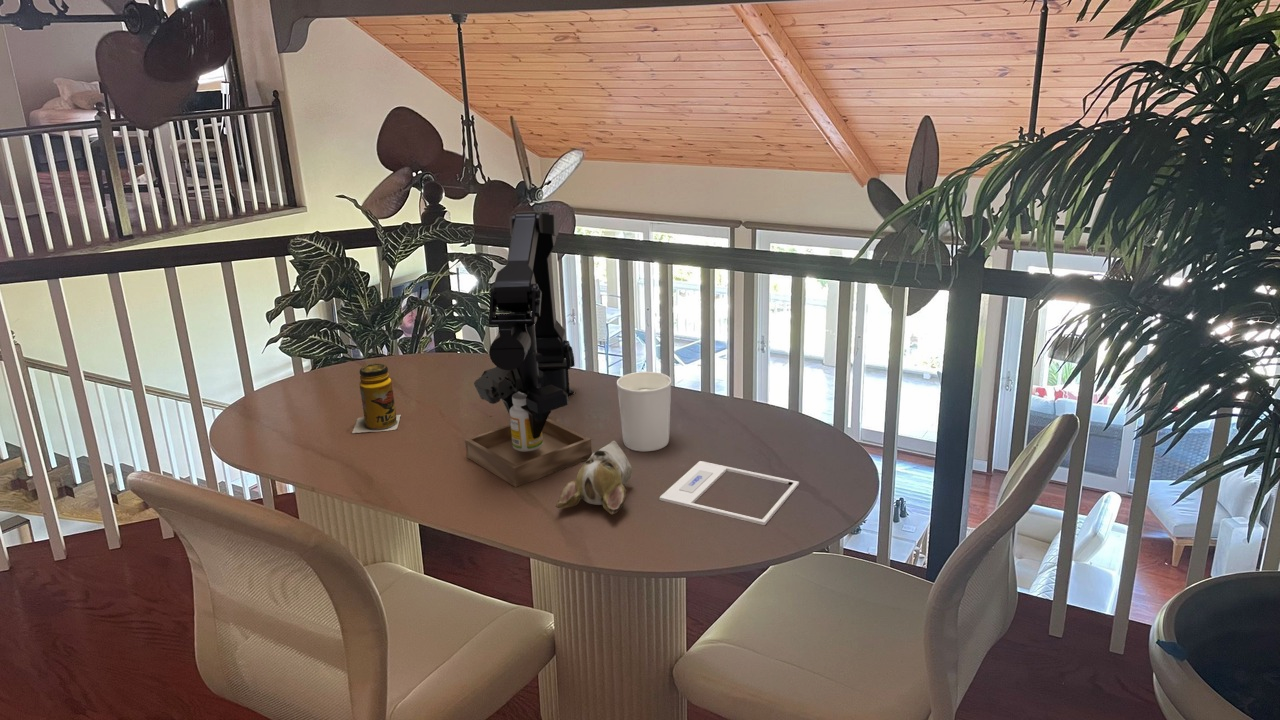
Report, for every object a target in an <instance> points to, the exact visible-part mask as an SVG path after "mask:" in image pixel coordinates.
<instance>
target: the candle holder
mask: <svg viewBox="0 0 1280 720" xmlns="http://www.w3.org/2000/svg"><path fill="white" fill-rule="evenodd" d="M672 383H673V382H672V378H671V377H670V376H669V375H666V373H662V372H657V371H637V372H632V373H631V372H630V373H627V374H624V375H622V376H620V377H619V378H618V379H617V380H616V387H617V395H618V404H619V405H618V406H619V414H620V422H621V423H620V424H621V430H622V431H621V433H622V441H623V444H624V446H625V447H626V448H628V449H629V450H632V451H636V452H654V451H658V450H661V449H663V448H665V447H666V446H667V445H668V444H669V442H670V427H671V424H670V423H671V397H672V396H671V395H672Z"/></svg>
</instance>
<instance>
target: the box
mask: <svg viewBox="0 0 1280 720" xmlns="http://www.w3.org/2000/svg"><path fill="white" fill-rule="evenodd" d="M542 437H543V445H542V446H541V447H540V448H539V449H537V450H533V451H528V452H522V451H517V450H515V449H514V448H513V444H512V435H511V424H509V423H508V424H507V425H503V426H501V427H498V428H495V429H492V430H490V431H486V432H483V433H479V434H476V435H475V436H470V437H468V438H465V439H464V443H465V452H466V458H467V459H469V460H470V461H472V462H474V463H476V464H477V465H479V466H480V467H482V468H483V469H484V470H487V471H489V472H490V473H492V474H494V475H495V476H497V477H499V478H500V479H502V480H503V481H505V482H507V483H508V484H510V485H512V486H514V487H515V488H517V487H518V488H519V487H520V486H523V485H525V484H528V483H531V482H532V481H536V480H539V479H540V478H544V477H546V476H548V475H551V474H553V473H556V472H558V471H560V470H563V469H566V468H568V467H571V466H574V465H575V464H579V463H582V462H584V461H587V460H588V459H589V458H590V456H591V455H592V454H593V451H592V450H593V449H592V439H591V438H589V437H587V436H585V435H582V434H581V433H579V432H576V431H575V430H573V429H571V428H569V427H566V426H564V425H562V424H560V423H558V422H556V421H554V420H552V419H551V418H549V417H548V418H547V420H546V423H545V425H544V427H543V430H542Z"/></svg>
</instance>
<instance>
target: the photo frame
mask: <svg viewBox="0 0 1280 720" xmlns="http://www.w3.org/2000/svg"><path fill="white" fill-rule="evenodd" d="M726 472H729V473H734V474H738V475H743V476H749V477H754V478H758V479H761V480H762V479H763V480H767V481H772V482H775V483H776V482H777V483H782V484H786V485H789V483H790V484H791V485H790V486H789V487H788V489H786V491H785V492H784V493H783V494H782V495H781V497H780V498H779V499H778V501H777V502H776V503H775V504H774V505H773V506H772V507H771V509H770V510H769V511H768V512H767V513H766V514H765V516H764V517H762V519H761V518H757V517H753V516H748V515H746V514H745V515H744V514H740V513H736V512H731V511H730V510H729V511H727V510H724V509H718V508H716V507H711V506H707V505H703V504H698V503H695V502H696V501H697V500H699V499H700V498H701V497H702V495H704V494H705V492H706V491H708V490H709V489H710V487H712V486H713V485H714V484H715V483H716V482H717V481H718V480H719V479H720V478H721V477H722V476H723V475H724V474H725V473H726ZM799 485H800V481H797V480H791V479H787V478H783V477H778V476H773V475H770V474H765V473H760V472H755V471H754V472H753V471H749V470H745V469H739V468H736V467H731V466H726V465H721V464H717V463H711V462H708V461H703V460H702V461H701V460H699V461H698V462H697V463H696V464H695V465H693V466H692V467H691V468H690V469H689V470H688V471H687V472H686V473H685V474H684V475H683V476H681V477H680V478H679V479H678V480H677V481H675V482H674V483H673V484H672V485H671V486H670V487H669V488H668V489H667V490H666V491H665V492H663V493H662V494H661V495H660V496H659V501H662V502H665V503H666V502H667V503H670V504H674V505H679V506H682V507H687V508H691V509H695V510H699V511H704V512H707V513H712V514H716V515H720V516H724V517H729V518H733V519H737V520H741V521H745V522H749V523H753V524H757V525H761V526H766V524H767V523H768V522H770V520H771V518H772V517H773V516H774V515H775V513H777V512H778V510H779V509H780V508H781V507H782V506H783V504H784V503H785V502H786V501H787V499H788V498H789V497H791V495H792V493H793V492H794V491H795V490H796V489H797V488H798V486H799Z"/></svg>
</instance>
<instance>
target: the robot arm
mask: <svg viewBox="0 0 1280 720" xmlns="http://www.w3.org/2000/svg"><path fill="white" fill-rule="evenodd" d="M559 228H560V227H559V219H558V216H556V215H555V214H552V212H551V211H550V210H548V211H547V210H546V211H542V210H541V211H517V212H515V213H512V215H510V216H509V231H510V236H511V237H510V244H509V248H508V255H507V259H506V262H505V263H506V264H505V266H503V267H502V268H500V270H498V271H497V273H496V275H495V279H494V282H493V284H492V285H491V286H490V294H489V309H488V310H489V311H488V325H489V326H492V325H493V326H494V325H495V326H498V327H497V328H498V332H497V335H496V336H495V338H494V339H493V341H492V343H491V345H490V347H489V351H488V353H489V358H490V360H491V362H492V364H493V365H495V367H493V368H489V369H485V370H484V371H483V372H482V374H481V376H480V377H478V378H477V379H476V380H475V381H474V382H473V386H474V387H475V389H476V391H477V393H478V396H479V397H480V399H481V400H485V401H486V402H488V403H489V404H492V405H494V404H497V403H498V402H500V401H502V402H503V404H504V407H505V408H506V411H507V414H508V416H509V417H510V408H511V407H512V406H513V403H512V395H513V394H515V393H517V392H518V393H520V394H522V395H527V397H526V404H527V405H524V406H521V408H522V409H523V410H525V411H526V412H527V413H528V416H529V421H530V426H531V431H532V435H533V438H534V439H536V438H539V437H540V434H541V432H542V430H543V427H544V425H545V423H546V420H547V418H548V419H549V415H550V414H551V411H554V410H556V409H559V408H562V407H563V408H564V407H566V406H568V404H569V397H568V396H571V395H573V394H575V391H574V390H573V389H571V388H570V378H569V370H571V368H574V367H575V355H574V351H573V347H572V346H571V344H570V341H569V340H567V335H566V334H567V333H566V329H565V328H564V327H563V326H562V325H561V323H559V321H558V319H557V314H556V304H555V293H554V292H555V291H554V283H553V273H552V265H551V262H552V261H551V253H552V251H553V249H554V246H555V244H556V241H557V236H559ZM497 311H498V312H499V313H497Z"/></svg>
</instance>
